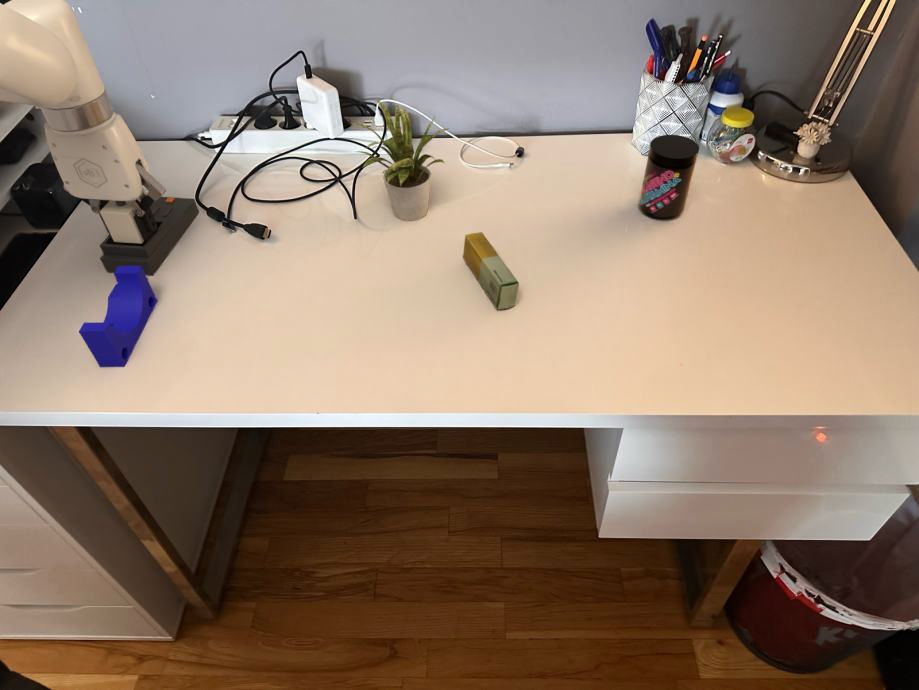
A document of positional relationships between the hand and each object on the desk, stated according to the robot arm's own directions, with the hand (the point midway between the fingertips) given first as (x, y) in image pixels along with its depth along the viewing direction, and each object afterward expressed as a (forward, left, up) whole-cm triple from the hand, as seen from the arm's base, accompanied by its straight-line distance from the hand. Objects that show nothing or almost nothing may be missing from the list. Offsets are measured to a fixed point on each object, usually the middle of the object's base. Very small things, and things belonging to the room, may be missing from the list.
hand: (134, 232), depth 94 cm
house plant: (+35, +15, -4) cm, 38 cm away
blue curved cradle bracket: (+5, -16, -4) cm, 17 cm away
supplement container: (+74, +19, -4) cm, 77 cm away
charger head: (0, 0, 0) cm, 0 cm away
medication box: (+50, 0, -4) cm, 50 cm away
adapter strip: (0, +3, -4) cm, 5 cm away
